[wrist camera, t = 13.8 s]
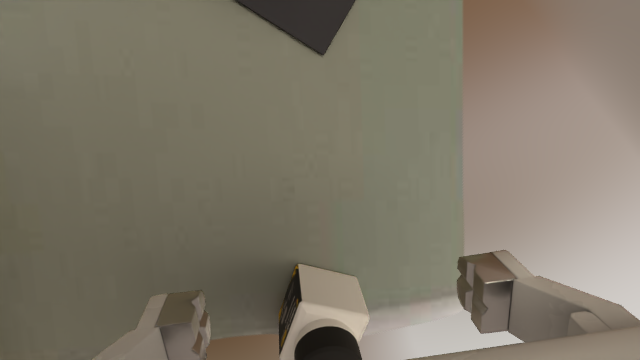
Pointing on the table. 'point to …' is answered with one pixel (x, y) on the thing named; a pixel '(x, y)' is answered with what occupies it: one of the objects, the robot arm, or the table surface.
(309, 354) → the medicine bottle
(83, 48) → the table surface
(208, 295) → the table surface
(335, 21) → the mat
